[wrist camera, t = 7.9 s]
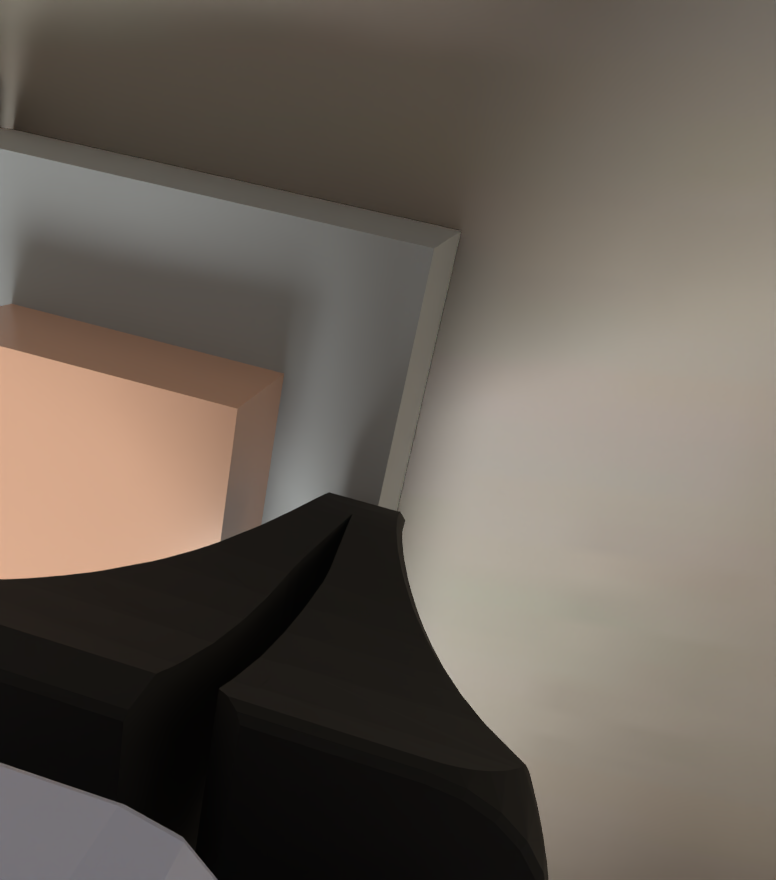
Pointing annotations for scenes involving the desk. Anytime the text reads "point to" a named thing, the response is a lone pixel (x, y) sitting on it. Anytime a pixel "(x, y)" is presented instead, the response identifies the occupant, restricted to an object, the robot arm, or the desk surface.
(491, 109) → the desk surface
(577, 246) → the desk surface
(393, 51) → the desk surface
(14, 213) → the slate slab
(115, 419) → the terracotta tile
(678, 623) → the desk surface
